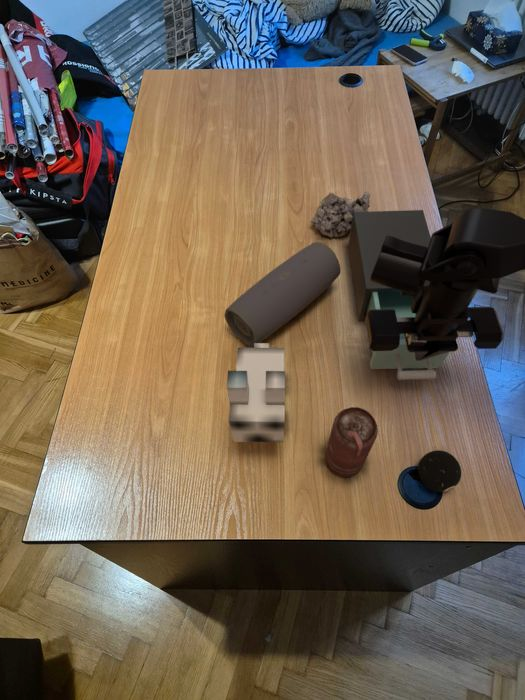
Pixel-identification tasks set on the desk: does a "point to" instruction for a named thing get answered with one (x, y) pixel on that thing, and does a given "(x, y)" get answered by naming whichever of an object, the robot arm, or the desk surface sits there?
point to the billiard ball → (439, 471)
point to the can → (350, 441)
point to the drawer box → (379, 246)
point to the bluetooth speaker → (282, 293)
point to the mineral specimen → (338, 214)
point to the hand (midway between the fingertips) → (417, 358)
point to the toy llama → (257, 395)
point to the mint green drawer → (400, 355)
